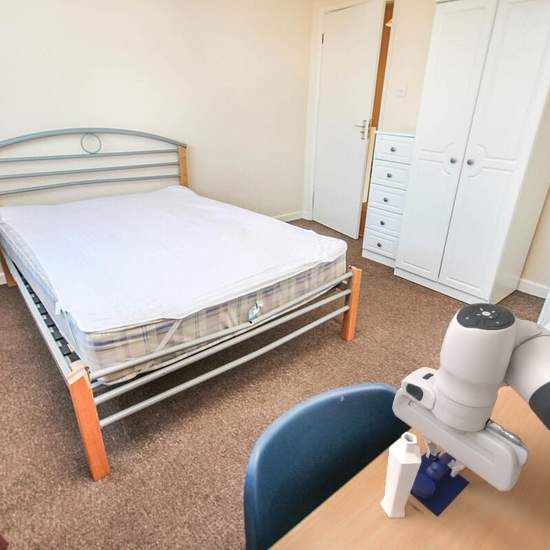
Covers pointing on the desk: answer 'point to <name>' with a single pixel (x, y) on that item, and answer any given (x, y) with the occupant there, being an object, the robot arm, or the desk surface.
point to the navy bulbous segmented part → (431, 476)
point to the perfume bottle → (401, 474)
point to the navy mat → (440, 489)
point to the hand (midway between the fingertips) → (441, 465)
